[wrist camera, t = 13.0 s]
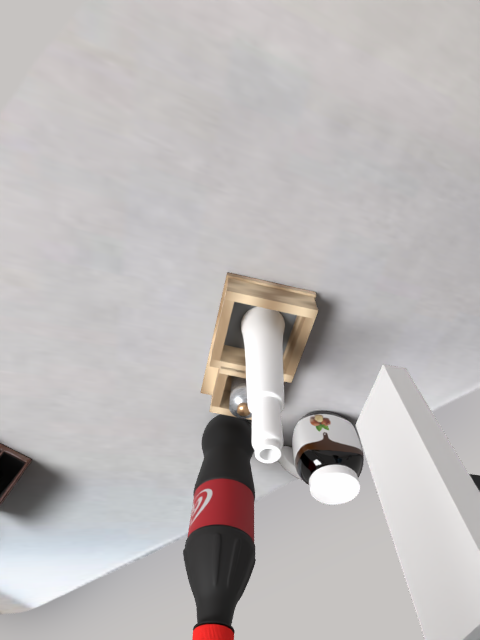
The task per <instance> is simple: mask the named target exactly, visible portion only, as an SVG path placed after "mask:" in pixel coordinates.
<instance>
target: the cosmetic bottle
mask: <svg viewBox="0 0 480 640" xmlns="http://www.w3.org/2000/svg"><path fill="white" fill-rule="evenodd" d="M284 329H285V322H284V318H283V316H282V315H281V314H280V313H279V312H278V311H275V310H271V309H266V308H262V307H254V308H252V309H250V310H249V311H247V312H246V313H245V315H244V316H243V318H242V320H241V331H242V335H243V339H244V346H245V360H246V385H247V402H248V409H249V411H250V412H251V413H252V446H253V448H254V450H255V457H256V458H257V459H258V460H259V461H260V462H263V463H273V462H276V461H277V460H279V459H280V457H281V449H282V447H283V431H282V420H281V412H282V411H283V409H284V376H283V334H284Z"/></svg>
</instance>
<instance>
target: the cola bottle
mask: <svg viewBox="0 0 480 640" xmlns="http://www.w3.org/2000/svg"><path fill="white" fill-rule="evenodd" d="M202 450H203V454H204V460H203V463H202V466H201V469H200V472H199V475H198V478H197V481H196V484H195V488H194V500H193V506H192V513H191V519H190V525H189V532H188V538H187V540H186V544H185V549H184V551H183V555H184V561H185V566H186V571H187V575H188V579H189V583H190V586H191V589H192V592H193V595H194V598H195V602H196V606H197V622H198V624H196V625H195V626H194V628H193V640H234V629H233V627H232V626H231V623H232V619H233V614H234V610H235V607H236V604H237V602H238V601H239V599H240V598H241V596H242V594H243V592H244V590H245V588H246V585H247V583H248V581H249V578H250V576H251V573H252V570H253V568H254V565H255V544H254V500H255V489H254V483H253V477H252V472H251V466H250V459H251V457H252V454H253V452H254V448H253V446H252V428H251V426H250V424H249V423H248V422H247V421H246V420H245V419H242V418H238V417H233V416H228V415H223V414H222V415H219V416H216V417H215V418H213V419H212V420H211V421H210V422H209V423H208V425H207V426H206V428H205V431H204V433H203V437H202Z"/></svg>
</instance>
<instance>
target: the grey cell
mask: <svg viewBox="0 0 480 640" xmlns="http://www.w3.org/2000/svg"><path fill="white" fill-rule="evenodd" d="M229 410H230V412H231V413H232V414H233V415H234V416H236V417H238V418H242V419H247V418H251V417H252V413H251V412H250V411H249V409H248V402H247V385H246V378H241V377H236V376H232V379H231V391H230V402H229Z"/></svg>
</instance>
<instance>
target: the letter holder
mask: <svg viewBox="0 0 480 640" xmlns="http://www.w3.org/2000/svg"><path fill="white" fill-rule="evenodd" d="M31 461H32V459H30V458H28V457H27V456H25V455H23V454H21V453H19V452H17V451H15V450H13V449H11V448H9V447H7V446H5V445H3V444H1V443H0V505H1V504H2V502H3V501H4V500H5V498H6V497H7V495H8V494H9V492H10V491H11V490H12V488H13V487H14V485H15V484H16V483H17V481H18V480H19V478H20V477H21V475H22V474H23V472H24V471H25V469H26V468H27V467H28V465H29V464H30V463H31Z"/></svg>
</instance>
